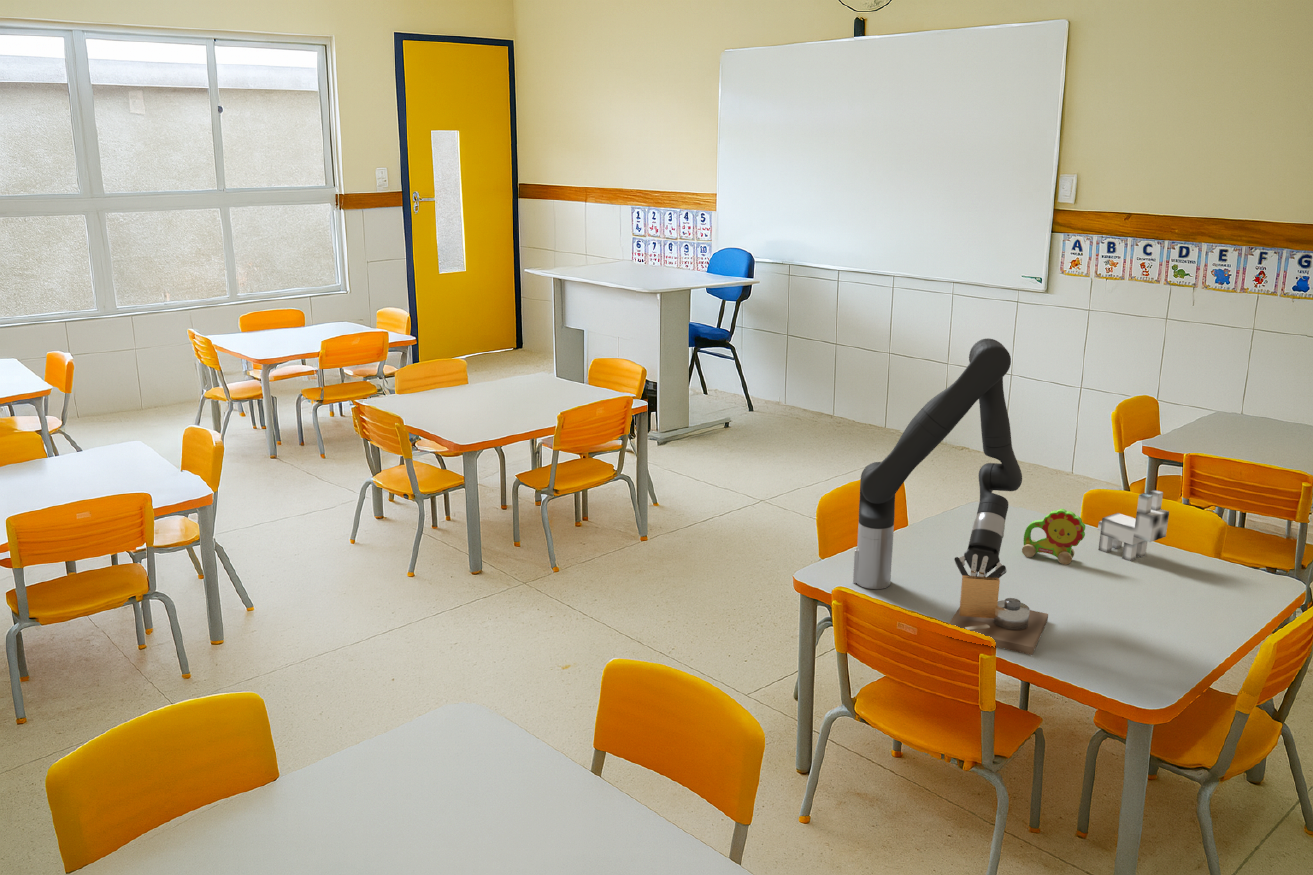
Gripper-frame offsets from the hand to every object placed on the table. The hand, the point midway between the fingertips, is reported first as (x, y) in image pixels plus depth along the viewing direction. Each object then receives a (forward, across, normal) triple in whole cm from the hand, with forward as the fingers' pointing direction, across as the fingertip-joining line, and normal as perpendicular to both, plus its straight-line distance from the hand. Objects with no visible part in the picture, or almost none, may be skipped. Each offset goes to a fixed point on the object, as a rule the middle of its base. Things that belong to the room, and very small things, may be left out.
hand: (972, 597), depth 241 cm
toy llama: (-41, +29, +53) cm, 73 cm away
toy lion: (-32, +11, +44) cm, 55 cm away
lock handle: (+4, +5, +4) cm, 7 cm away
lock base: (+4, +6, +6) cm, 10 cm away
